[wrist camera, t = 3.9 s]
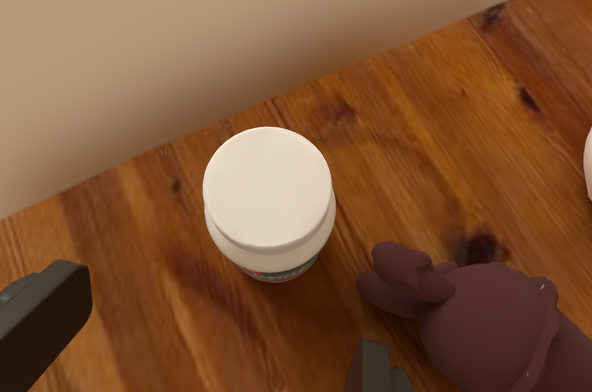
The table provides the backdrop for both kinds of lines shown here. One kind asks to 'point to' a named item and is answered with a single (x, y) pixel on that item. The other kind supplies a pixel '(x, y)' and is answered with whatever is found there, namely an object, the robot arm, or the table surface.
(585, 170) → the teapot
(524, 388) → the icecream
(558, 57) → the table surface
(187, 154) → the table surface
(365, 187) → the table surface
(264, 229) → the pill bottle
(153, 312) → the table surface
